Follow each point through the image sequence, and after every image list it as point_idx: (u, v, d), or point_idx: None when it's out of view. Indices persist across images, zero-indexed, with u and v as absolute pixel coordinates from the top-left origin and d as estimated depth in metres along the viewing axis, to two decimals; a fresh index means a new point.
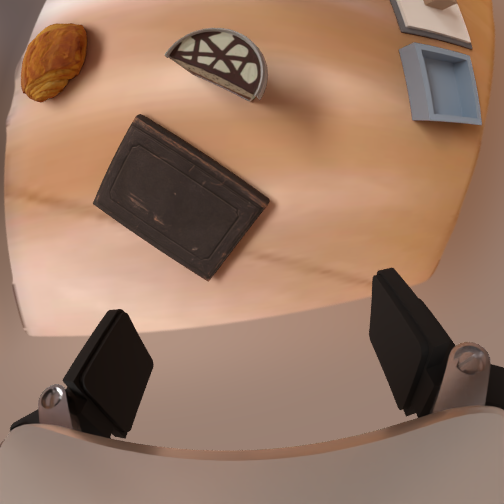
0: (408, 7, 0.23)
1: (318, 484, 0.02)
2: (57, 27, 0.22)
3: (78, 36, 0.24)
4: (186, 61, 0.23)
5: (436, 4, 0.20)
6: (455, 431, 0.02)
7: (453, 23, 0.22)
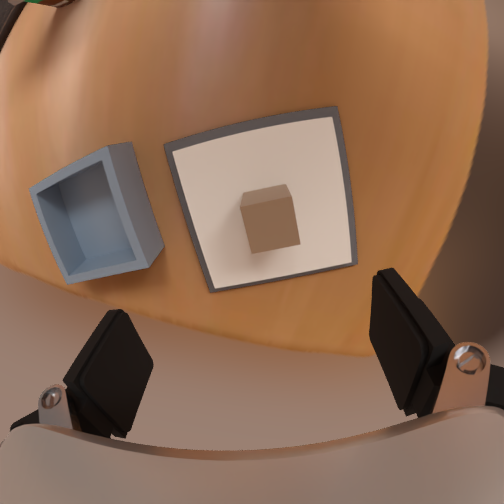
0: (217, 153, 0.23)
1: (318, 484, 0.02)
2: None
3: None
4: None
5: None
6: (455, 431, 0.02)
7: (234, 254, 0.28)
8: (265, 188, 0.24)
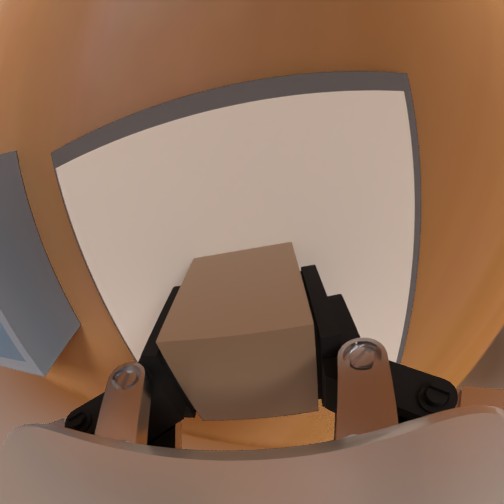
0: (133, 169, 0.10)
1: (317, 484, 0.02)
2: None
3: None
4: None
5: None
6: (455, 431, 0.02)
7: None
8: (243, 252, 0.11)
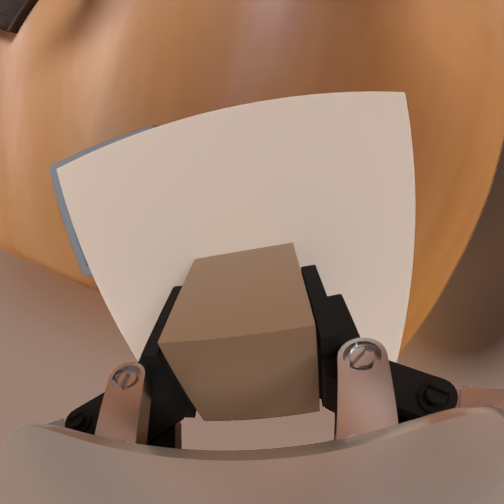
0: (134, 170, 0.10)
1: (318, 484, 0.02)
2: None
3: None
4: None
5: None
6: (455, 431, 0.02)
7: None
8: (244, 253, 0.11)
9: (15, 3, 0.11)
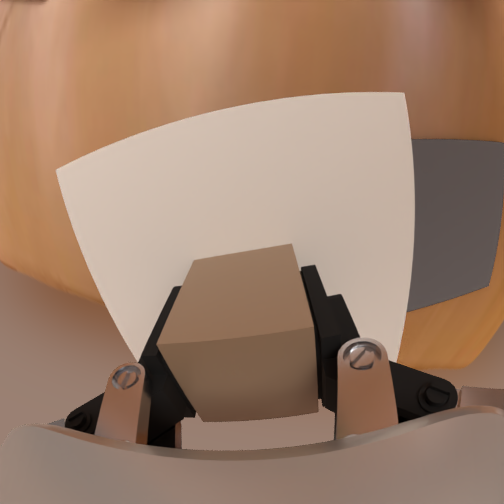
0: (133, 171, 0.10)
1: (318, 484, 0.02)
2: None
3: None
4: None
5: None
6: (455, 431, 0.02)
7: None
8: (243, 254, 0.11)
9: None
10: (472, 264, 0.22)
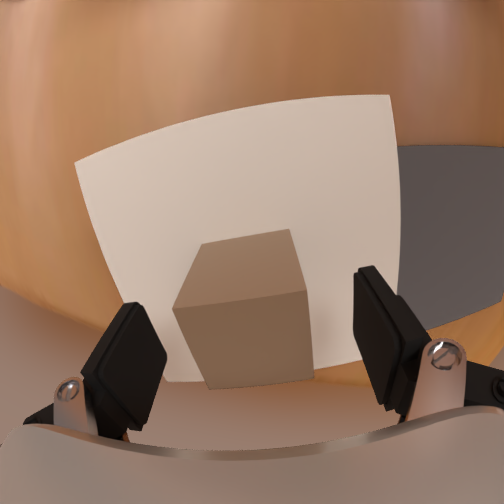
0: (148, 164, 0.11)
1: (318, 484, 0.02)
2: None
3: None
4: None
5: None
6: (455, 431, 0.02)
7: None
8: (246, 238, 0.12)
9: None
10: (486, 280, 0.19)
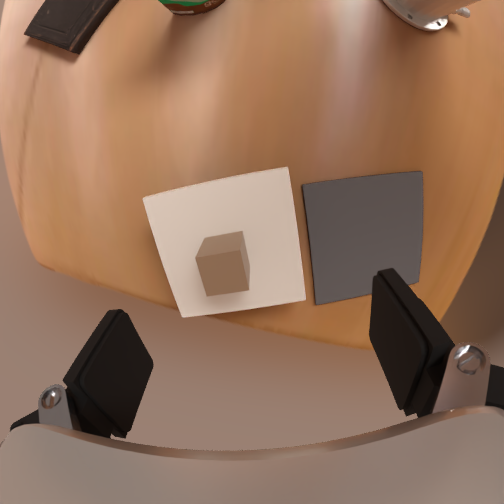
0: (181, 202, 0.26)
1: (318, 484, 0.02)
2: None
3: None
4: None
5: None
6: (455, 431, 0.02)
7: (197, 289, 0.30)
8: (223, 235, 0.27)
9: (74, 20, 0.20)
10: (397, 265, 0.35)
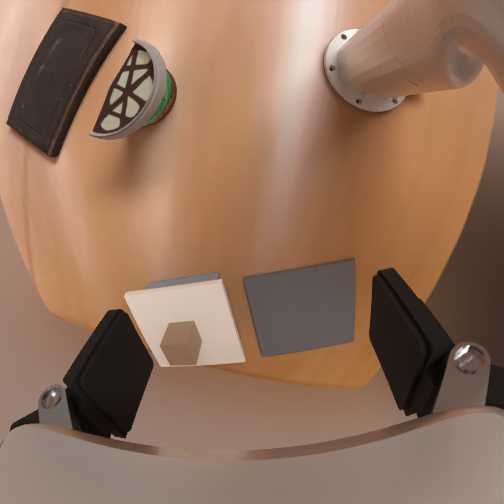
0: (150, 301, 0.36)
1: (318, 485, 0.02)
2: None
3: None
4: (126, 61, 0.21)
5: None
6: (455, 431, 0.02)
7: None
8: (181, 323, 0.37)
9: (46, 122, 0.29)
10: (330, 330, 0.45)
